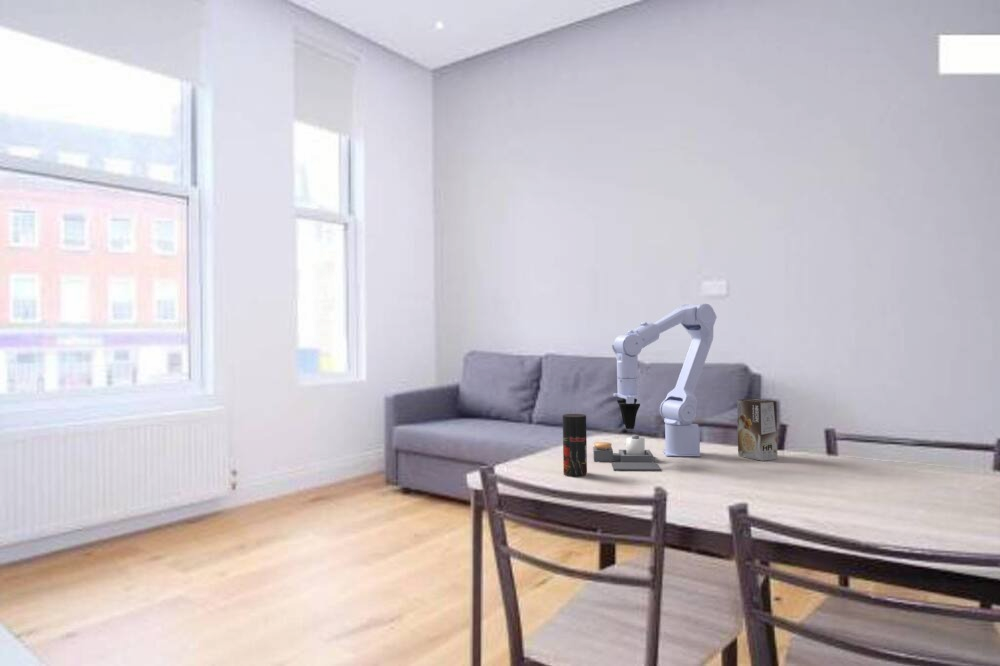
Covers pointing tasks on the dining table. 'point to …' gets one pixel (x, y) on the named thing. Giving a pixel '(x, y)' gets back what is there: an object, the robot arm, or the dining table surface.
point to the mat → (635, 466)
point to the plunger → (602, 445)
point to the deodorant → (574, 445)
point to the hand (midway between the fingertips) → (628, 426)
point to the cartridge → (635, 445)
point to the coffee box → (757, 429)
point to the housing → (620, 456)
